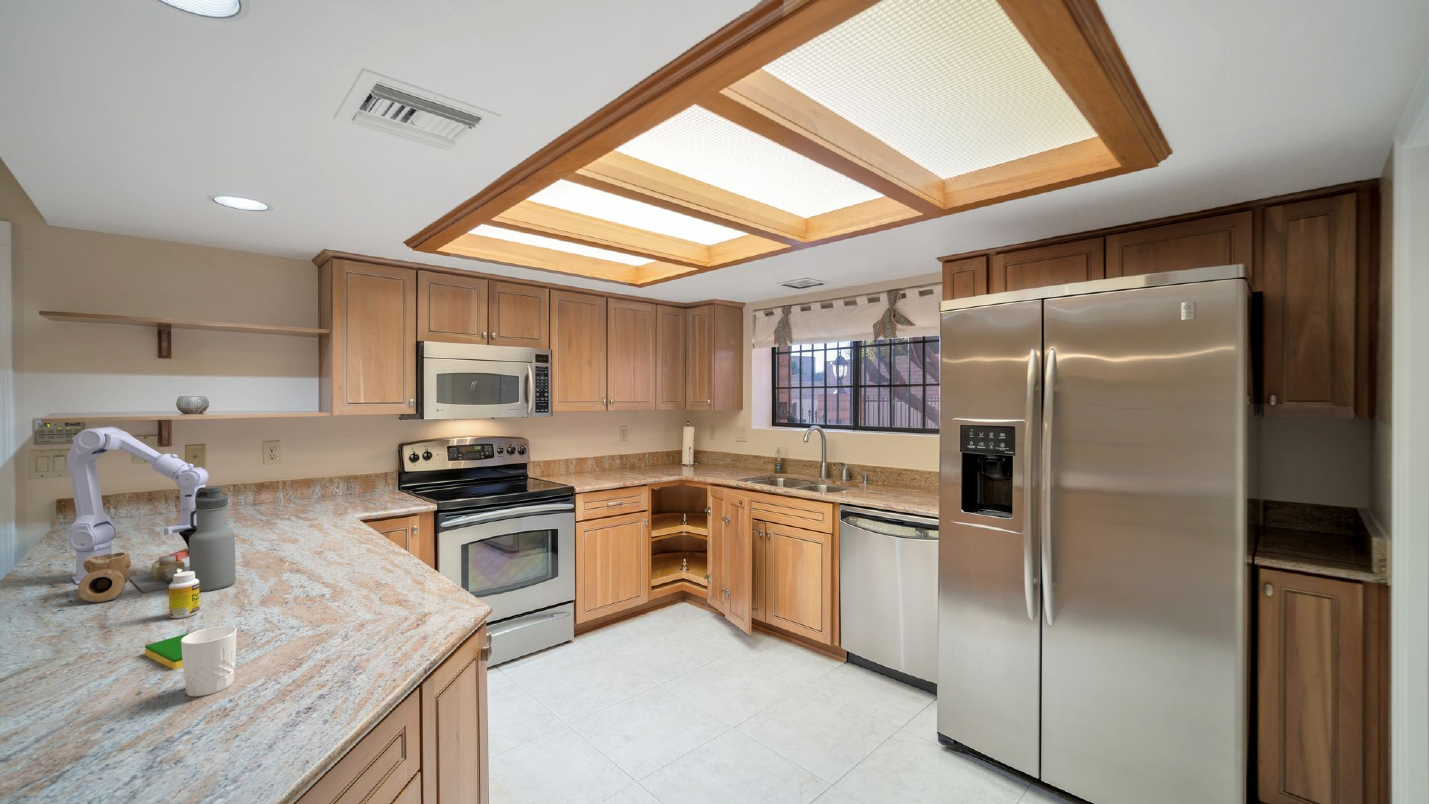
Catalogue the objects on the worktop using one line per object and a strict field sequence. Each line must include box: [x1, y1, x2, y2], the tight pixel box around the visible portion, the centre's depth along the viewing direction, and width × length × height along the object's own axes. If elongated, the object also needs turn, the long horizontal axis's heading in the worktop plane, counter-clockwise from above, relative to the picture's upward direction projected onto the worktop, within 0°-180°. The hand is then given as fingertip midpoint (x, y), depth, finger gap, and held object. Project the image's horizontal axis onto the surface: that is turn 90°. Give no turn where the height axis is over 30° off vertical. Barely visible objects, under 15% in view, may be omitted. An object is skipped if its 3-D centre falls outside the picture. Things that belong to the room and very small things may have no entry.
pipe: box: [77, 551, 132, 603], centre depth 159 cm, size 9×16×10 cm, turn 40°
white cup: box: [181, 625, 238, 697], centre depth 110 cm, size 8×8×10 cm
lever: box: [158, 547, 189, 564], centre depth 176 cm, size 12×4×2 cm, turn 6°
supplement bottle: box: [168, 571, 201, 619], centre depth 145 cm, size 6×6×10 cm
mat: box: [129, 565, 190, 594], centre depth 173 cm, size 20×17×1 cm
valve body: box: [151, 559, 185, 585], centre depth 172 cm, size 16×6×5 cm, turn 53°
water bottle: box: [188, 485, 237, 593], centre depth 165 cm, size 10×10×28 cm
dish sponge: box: [144, 633, 189, 670], centre depth 123 cm, size 7×14×2 cm, turn 62°
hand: (195, 552), depth 179 cm, fingers closed
